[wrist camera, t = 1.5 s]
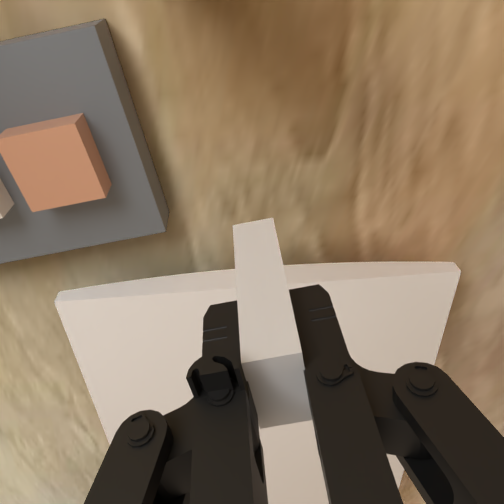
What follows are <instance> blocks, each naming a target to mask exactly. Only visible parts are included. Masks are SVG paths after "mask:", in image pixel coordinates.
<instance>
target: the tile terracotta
mask: <svg viewBox="0 0 504 504" xmlns="http://www.w3.org/2000/svg"><path fill="white" fill-rule="evenodd" d="M0 153H1V155H2V157H3V159H4V161H5V163H6V165H7V166H8V168H9V170H10V172H11V174H12V176H13V178H14V179H15V181H16V183H17V185H18V187H19V189H20V191H21V192H22V194H23V196H24V198H25V200H26V202H27V204H28V205H29V207H30V209H31V211H32V212H36V211H41V210H46V209H51V208H57V207H62V206H67V205H72V204H77V203H82V202H87V201H92V200H97V199H102V198H106V196H107V194H108V192H109V189H110V187H111V185H112V184H111V181H110V179H109V176H108V174H107V171H106V169H105V166H104V164H103V161H102V159H101V156H100V154H99V151H98V149H97V146H96V144H95V141H94V139H93V136H92V134H91V131H90V129H89V127H88V124H87V122H86V119H85V117H84V114H83V113H80V114H75V115H71V116H66V117H61V118H56V119H51V120H46V121H42V122H37V123H32V124H27V125H22V126H17V127H13V128H8V129H6V130H4V131H3V132H2V133H1V134H0Z"/></svg>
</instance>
